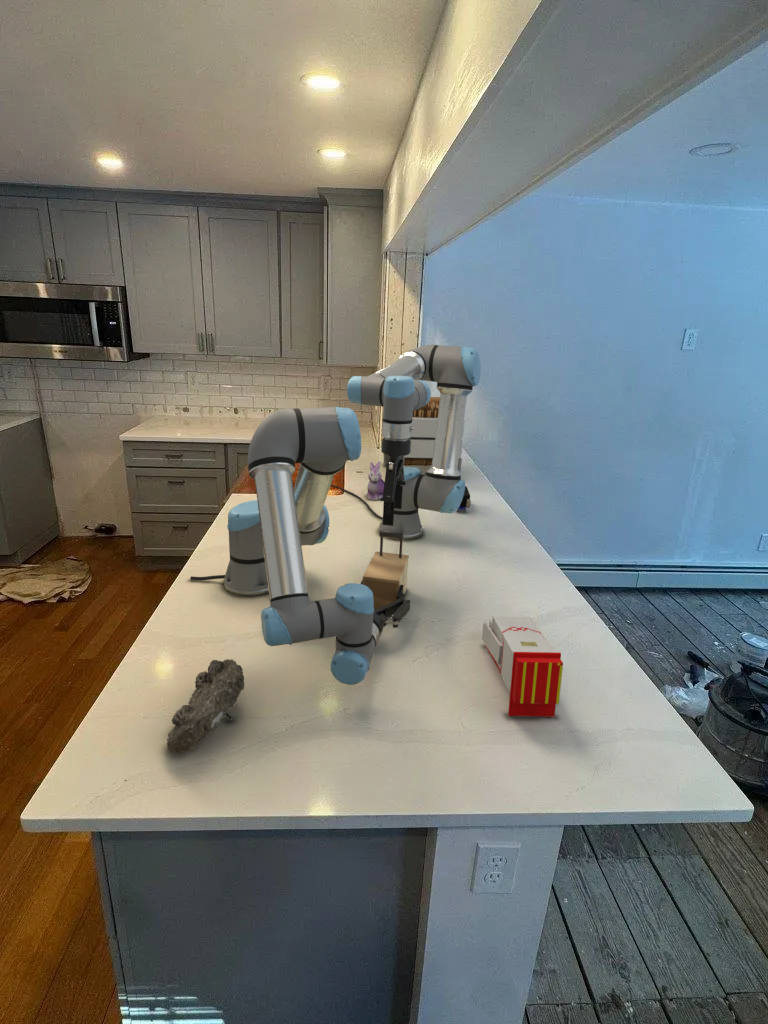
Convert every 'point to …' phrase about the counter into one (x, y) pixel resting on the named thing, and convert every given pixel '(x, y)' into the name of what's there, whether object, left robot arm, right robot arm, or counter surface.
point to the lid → (387, 561)
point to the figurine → (375, 482)
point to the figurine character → (465, 500)
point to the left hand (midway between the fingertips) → (382, 587)
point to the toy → (525, 665)
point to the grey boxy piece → (424, 436)
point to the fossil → (206, 705)
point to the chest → (386, 590)
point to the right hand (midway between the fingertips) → (392, 516)
